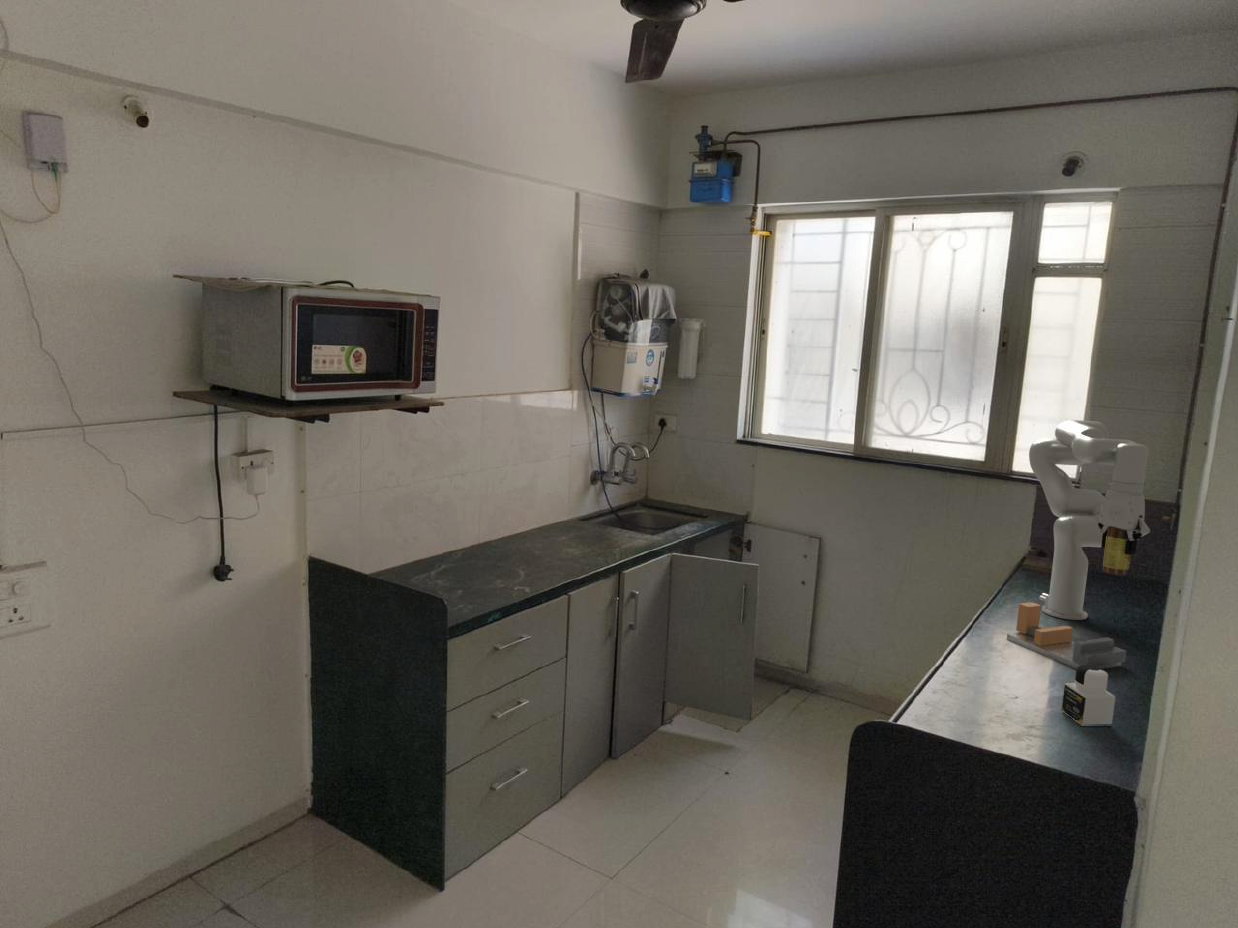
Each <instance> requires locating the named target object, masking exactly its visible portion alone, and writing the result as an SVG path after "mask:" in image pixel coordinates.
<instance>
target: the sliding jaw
mask: <svg viewBox="0 0 1238 928" xmlns="http://www.w3.org/2000/svg"><path fill="white" fill-rule="evenodd" d="M1018 605H1019V606H1018V610H1017V611H1018V612H1017V621H1016V630H1015V631H1016V632H1021V633H1023V634H1029V635H1032V636H1034V644H1036V645H1039V646H1043V645H1050V644H1058V643H1065V642H1072V641H1073V635H1074V628H1073V627H1071V626H1069V625H1061V626H1053V627H1046V628H1042V627H1039V626H1040V620H1041V618H1040V617H1041V610H1042V605H1040V604H1038V603H1035V602H1033V601H1032V602H1024V603H1019V604H1018Z"/></svg>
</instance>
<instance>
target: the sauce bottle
mask: <svg viewBox="0 0 1238 928" xmlns="http://www.w3.org/2000/svg"><path fill="white" fill-rule="evenodd" d="M1127 540H1129V537H1128V534H1127V531H1126V530H1122V529H1118V528H1116V527H1112V526H1108V532H1107V536H1106V544H1105V548H1104V553H1103V561H1102V567H1103V568H1102V571H1103V572H1104V573H1106V574H1109V575H1113V576H1122V577H1123V576H1127V574H1128V572H1129V571H1128V570H1129V568H1130V561H1131V555H1132V554H1129V555H1127V554H1125V547H1126V541H1127Z"/></svg>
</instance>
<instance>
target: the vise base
mask: <svg viewBox="0 0 1238 928" xmlns="http://www.w3.org/2000/svg"><path fill="white" fill-rule="evenodd" d="M1006 640H1008V641H1010V642H1013V643H1015V644H1017V645H1019V646H1022V647H1024V648H1026V649H1029V650H1031V649H1032V650H1031V651H1033V650H1034V651H1033V652H1035V651H1036V653H1037V654H1040V655H1042V656H1044V657H1045V656H1046V657H1047V658H1049V659H1052V660H1055V661H1057V662H1059V663H1061V664H1063V665H1066V666H1068V667H1070V668H1073V669H1075V670H1076V668H1077V667H1078V666H1080V665H1092V666H1096V667H1099V668H1101V669H1103V670H1105V669H1110V668H1117V667H1122V663H1126V661H1127V652H1128V650H1126V649H1122V648H1119V647H1117V646H1115V640H1114V639H1113V638H1111V637H1107V636H1106V637H1100V638H1095V639H1094V638H1093V639H1086V640H1085V639H1084V640H1079V641H1074V640H1072V642H1065V643H1058V644H1050V645H1043V646H1039V645H1036V644H1034V636H1032V635H1029V634H1023V633H1021V632H1019V631H1017V632H1012V633H1007V634H1006Z"/></svg>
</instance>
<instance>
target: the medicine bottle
mask: <svg viewBox="0 0 1238 928" xmlns="http://www.w3.org/2000/svg"><path fill="white" fill-rule="evenodd" d="M1075 670H1076V671H1075V676H1074V682H1065V683H1064V687H1063V696H1062V702H1061V703H1062V704H1061V712H1062V711H1064V712H1065V713H1067V714H1068V715H1069V716H1071V717H1072V718H1074V719H1075V720H1077V721H1078V722H1080V723H1081V724H1112V725H1113V717H1114V711H1115V703H1116V696H1115V695H1114V694H1113V693H1110V691H1108V690H1107V686H1108V679H1109V673H1108V672H1107V671H1106V670H1105V669H1101V668H1099V667H1096V666H1092V665H1080V666H1078V667H1077V668H1076V669H1075Z"/></svg>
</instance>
